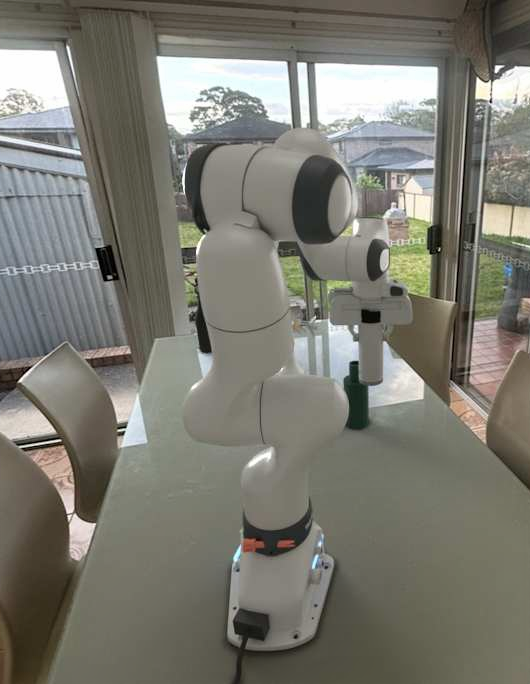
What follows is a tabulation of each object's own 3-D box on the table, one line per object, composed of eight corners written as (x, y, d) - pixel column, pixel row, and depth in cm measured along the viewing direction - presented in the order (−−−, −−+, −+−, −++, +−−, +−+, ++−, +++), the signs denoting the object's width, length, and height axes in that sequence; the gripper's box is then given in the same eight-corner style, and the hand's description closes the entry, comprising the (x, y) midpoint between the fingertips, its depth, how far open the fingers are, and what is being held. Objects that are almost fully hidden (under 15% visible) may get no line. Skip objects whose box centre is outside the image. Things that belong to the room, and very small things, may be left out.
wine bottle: (194, 351, 180) (183, 279, 169) (206, 344, 187) (196, 275, 176) (211, 353, 178) (200, 280, 167) (223, 346, 185) (213, 276, 174)
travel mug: (353, 383, 112) (352, 308, 105) (365, 373, 118) (365, 301, 111) (375, 388, 110) (375, 312, 102) (387, 378, 115) (387, 305, 108)
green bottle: (369, 428, 125) (368, 368, 119) (344, 429, 125) (342, 368, 118) (368, 415, 132) (367, 357, 125) (344, 416, 132) (343, 358, 125)
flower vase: (325, 381, 154) (322, 313, 145) (276, 395, 144) (269, 323, 135) (308, 368, 164) (304, 304, 155) (261, 381, 155) (254, 313, 146)
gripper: (326, 290, 102) (328, 346, 107) (414, 289, 102) (412, 344, 107) (327, 284, 107) (329, 337, 112) (411, 282, 108) (409, 335, 113)
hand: (371, 340), depth 110 cm, fingers closed on travel mug, 6 cm apart
